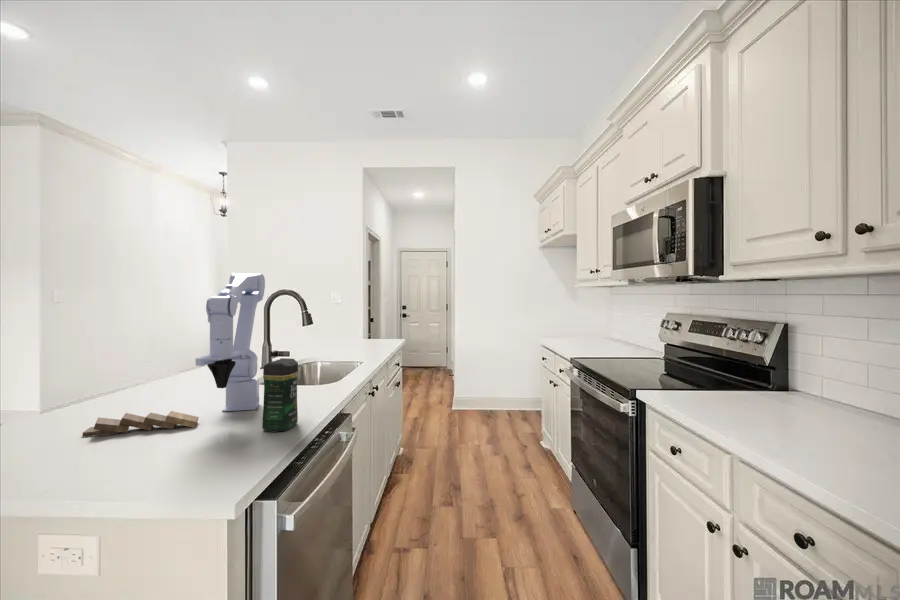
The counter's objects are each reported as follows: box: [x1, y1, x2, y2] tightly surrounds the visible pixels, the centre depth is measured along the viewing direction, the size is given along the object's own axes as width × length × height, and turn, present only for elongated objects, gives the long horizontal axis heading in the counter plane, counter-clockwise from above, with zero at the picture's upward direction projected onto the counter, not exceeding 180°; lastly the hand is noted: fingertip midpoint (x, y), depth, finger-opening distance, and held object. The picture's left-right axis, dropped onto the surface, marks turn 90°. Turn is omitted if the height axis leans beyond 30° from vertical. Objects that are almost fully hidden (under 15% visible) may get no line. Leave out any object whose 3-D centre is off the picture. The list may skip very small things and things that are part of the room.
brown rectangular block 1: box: [93, 416, 131, 433], centre depth 109 cm, size 2×4×7 cm
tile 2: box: [143, 412, 178, 430], centre depth 113 cm, size 2×4×7 cm
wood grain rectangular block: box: [82, 426, 119, 438], centre depth 109 cm, size 2×4×7 cm
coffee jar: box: [261, 357, 299, 433], centre depth 115 cm, size 10×8×19 cm
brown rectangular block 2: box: [119, 412, 154, 431], centre depth 112 cm, size 2×4×7 cm
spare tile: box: [165, 410, 200, 428], centre depth 115 cm, size 2×4×7 cm
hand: (221, 387), depth 118 cm, fingers closed
